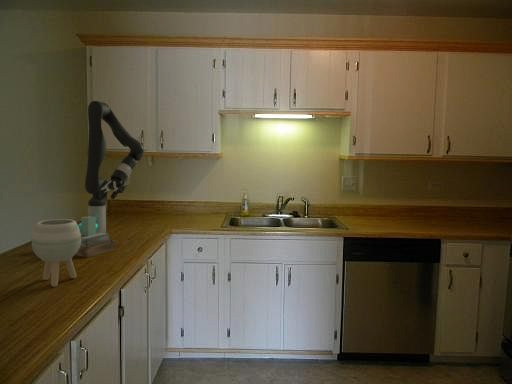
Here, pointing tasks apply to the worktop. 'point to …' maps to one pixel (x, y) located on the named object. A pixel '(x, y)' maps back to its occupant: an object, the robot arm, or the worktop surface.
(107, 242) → the brown truncated pyramid
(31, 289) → the worktop surface
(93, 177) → the robot arm
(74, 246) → the planter
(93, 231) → the brick
